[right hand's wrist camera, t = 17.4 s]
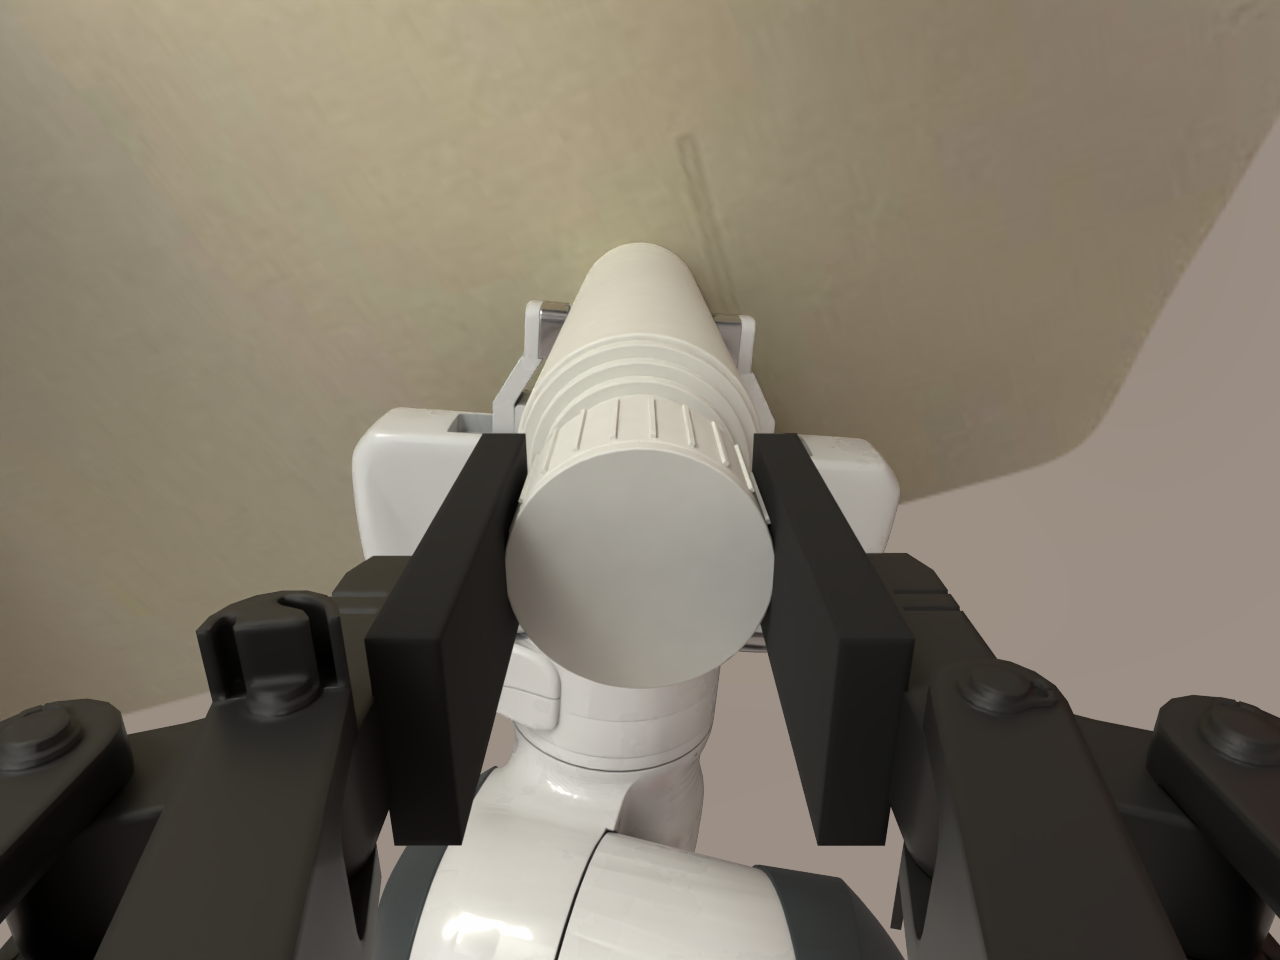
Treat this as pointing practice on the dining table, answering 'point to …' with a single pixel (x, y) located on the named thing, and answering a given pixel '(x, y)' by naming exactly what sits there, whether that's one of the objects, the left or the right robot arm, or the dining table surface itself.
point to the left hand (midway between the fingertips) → (640, 309)
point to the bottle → (639, 350)
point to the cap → (639, 546)
